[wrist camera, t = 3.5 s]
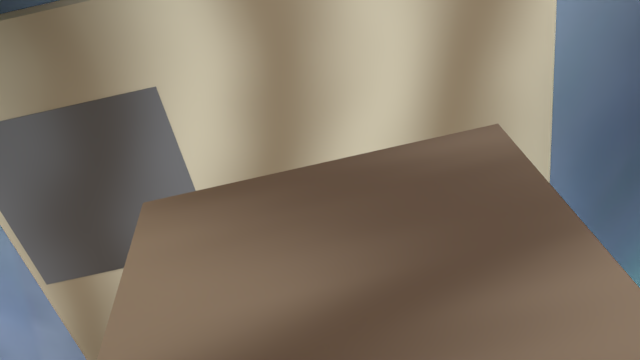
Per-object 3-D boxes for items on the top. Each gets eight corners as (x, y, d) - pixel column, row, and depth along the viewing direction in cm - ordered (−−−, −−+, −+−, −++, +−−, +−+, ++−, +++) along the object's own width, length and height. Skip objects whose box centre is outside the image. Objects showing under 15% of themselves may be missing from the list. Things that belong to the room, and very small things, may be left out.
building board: (544, -110, 16) (561, -107, 15) (534, 321, 26) (544, 338, 25) (-95, 35, 16) (-115, 47, 15) (133, 406, 26) (129, 427, 25)
